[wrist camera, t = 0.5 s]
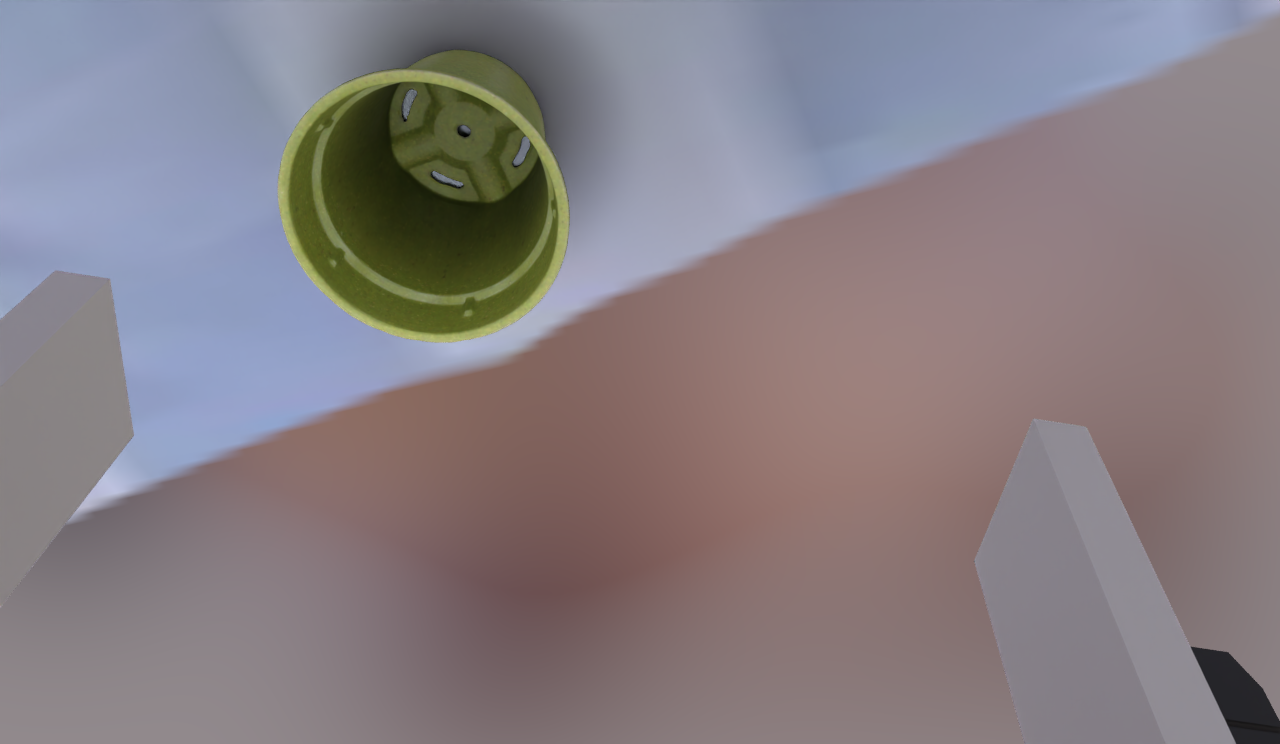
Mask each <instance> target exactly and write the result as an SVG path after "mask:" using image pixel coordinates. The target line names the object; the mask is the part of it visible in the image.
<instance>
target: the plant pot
mask: <svg viewBox="0 0 1280 744" xmlns="http://www.w3.org/2000/svg"><path fill="white" fill-rule="evenodd" d="M411 89H414V90H416V91H417V96H416V97H415V99H414V101H413V103H412V106H411V109H410V111H409V115H408V116H407V121H406V122H404V119H403V118H402V103H403V100H404V98H405V95H406V93H407V92H408V91H409V90H411ZM461 125H465V126H467V127H468V128H469V129H470V130H471V133H470V135H469V136H468V137H463V136H460V135H459V134H458V131H457V129H458V126H461ZM524 136H527V138H528V139H529V140H530V148H529V151H528V153H527V155H526V157H525V160H524V161H523V163H522V164H521V165H520V166H518V167H513V165H512V162H513V160H514V159H515V157H516V155H517V154H518V151H519V149H520V146H521V140H522V138H523V137H524ZM433 171H436V172H438V173H439V174H442V175H444V176H446V177H448V178H451V179H453V180H456V181H459V182H462V183H463V185H464V186H463V187H462V188H459V189H457V188H454V187H451V186H449V185H444V184H441V183H439V182H437V181H436V180H434V179H433V178H432V177H431V172H433ZM278 203H279V209H280V215H281V220H282V224H283V228H284V232H285V235H286V237H287V240H288V242H289V244H290V247H291V249H292V251H293V253H294V255H295V257H296V259H297V261H298V262H299V264H300V265H301V267H302V269H303V270H304V272H305V273H306V274H307V276H308V277H309V278H310V279H311V280H312V281H313V283H314V284H315V285H316V286H317V287H318V288H319V289H320V290H321V291H322V292H323V293H324V294H325V295H326V296H327V297H328V298H329V299H331V300H332V301H333V302H334V303H335V304H336V305H337V306H339V307H340V308H341V309H342V310H344V311H345V312H346V313H348V314H349V315H351V316H352V317H354V318H356V319H357V320H359V321H361V322H363V323H365V324H367V325H369V326H371V327H373V328H376V329H379V330H382V331H384V332H387V333H388V334H391V335H395V336H398V337H402V338H406V339H412V340H421V341H426V342H436V343H437V342H449V343H450V342H457V341H462V340H470V339H474V338H479V337H483V336H486V335H489V334H492V333H495V332H497V331H499V330H501V329H503V328H505V327H507V326H509V325H511V324H513V323H514V322H516V321H518V320H519V319H521V318H522V317H523V316H524V315H526V314H527V313H528V312H529V311H530V310H532V309H533V308H534V307H535V306H536V305H537V304H538V303H539V302H540V300H541V299H542V298H543V297H544V295H545V294H546V293H547V291H548V290H549V289H550V287H551V285H552V284H553V282H554V280H555V278H556V277H557V275H558V272H559V270H560V268H561V265H562V262H563V259H564V256H565V252H566V248H567V243H568V235H569V221H570V214H569V200H568V195H567V190H566V185H565V182H564V178H563V175H562V172H561V170H560V167H559V164H558V162H557V160H556V158H555V156H554V154H553V152H552V150H551V148H550V147H549V145H548V144H547V142H546V141H545V130H544V122H543V117H542V113H541V110H540V108H539V105H538V103H537V101H536V99H535V97H534V95H533V94H532V92H531V90H530V88H529V87H528V85H527V84H526V82H525V81H524V80H523V79H522V78H521V77H520V76H519V75H518V74H517V73H516V72H515V71H514V70H512V69H511V68H510V67H508V66H507V65H505V64H504V63H503V62H501V61H499V60H497V59H495V58H493V57H490V56H488V55H485V54H481V53H478V52H473V51H467V50H449V51H445V52H441V53H437V54H433V55H430V56H427V57H425V58H423V59H421V60H419V61H418V62H416V63H414V64H413V65H411V66H409V67H408V68H403V69H390V70H383V71H378V72H373V73H369V74H366V75H363V76H360V77H357V78H354V79H352V80H350V81H348V82H346V83H344V84H342V85H340V86H338V87H337V88H335V89H333V90H332V91H330V92H329V93H327V94H326V95H325V96H323V97H322V98H320V99H319V100H318V101H317V102H316V103H315V104H314V105H313V106H312V107H311V108H310V109H309V110H308V111H307V112H306V113H305V115H304V116H303V117H302V118H301V120H300V121H299V123H298V124H297V126H296V127H295V129H294V131H293V133H292V134H291V136H290V139H289V140H288V142H287V145H286V147H285V150H284V153H283V156H282V160H281V164H280V171H279V176H278Z"/></svg>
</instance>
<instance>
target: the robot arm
mask: <svg viewBox="0 0 1280 744" xmlns="http://www.w3.org/2000/svg"><path fill="white" fill-rule="evenodd" d="M133 436H134V433H133V426H132V420H131V413H130V407H129V400H128V393H127V387H126V380H125V374H124V367H123V361H122V354H121V348H120V341H119V334H118V328H117V321H116V315H115V308H114V302H113V295H112V288H111V282H110V279H108V278H102V277H95V276H88V275H82V274H75V273H69V272H62V271H54V272H53V273H52V274H51V275H50V276H49V277H47V278H46V279H45V280H44V281H43V282H42V283H41V284H40V285H39V286H37V287H36V288H35V289H34V290H33V291H32V292H31V293H30V294H28V295H27V296H26V297H25V298H24V299H23V300H22V301H21V302H20V303H18V304H17V305H16V306H15V307H14V308H13V309H12V310H11V311H9V312H8V313H7V314H6V315H5V316H4V317H3V318H2V319H1V320H0V607H1V606H2V605H3V604H4V603H5V601H6V600H7V599H8V597H9V596H10V595H11V594H12V592H13V591H14V590H15V588H16V587H17V586H18V584H19V583H20V582H21V581H22V579H23V578H24V577H25V575H26V574H27V573H28V572H29V570H30V569H31V568H32V566H33V565H34V564H35V563H36V561H37V560H38V559H39V557H40V556H41V555H42V553H43V552H44V551H45V550H46V548H47V547H48V546H49V545H50V543H51V542H52V541H53V539H54V538H55V537H56V535H57V534H58V533H59V531H60V530H61V529H62V528H63V526H64V525H65V524H66V523H67V521H68V520H69V519H70V517H71V516H72V515H73V514H74V512H75V511H76V510H77V508H78V507H79V506H80V504H81V503H82V502H83V501H84V499H85V498H86V497H87V495H88V494H89V493H90V492H91V490H92V489H93V488H94V486H95V485H96V484H97V483H98V481H99V480H100V479H101V477H102V476H103V475H104V474H105V472H106V471H107V470H108V468H109V467H110V466H111V464H112V463H113V462H114V461H115V459H116V458H117V457H118V455H119V454H120V453H121V452H122V450H123V449H124V448H125V446H126V445H127V444H128V443H129V441H130V440H131V439H132V437H133ZM974 562H975V565H976V569H977V573H978V576H979V580H980V583H981V587H982V591H983V594H984V598H985V602H986V605H987V609H988V612H989V616H990V620H991V623H992V627H993V630H994V634H995V638H996V641H997V645H998V649H999V652H1000V656H1001V659H1002V663H1003V667H1004V670H1005V674H1006V678H1007V681H1008V684H1009V689H1010V692H1011V696H1012V699H1013V703H1014V707H1015V710H1016V714H1017V717H1018V721H1019V725H1020V728H1021V732H1022V735H1023V739H1024V743H1025V744H1280V721H1279V719H1278V717H1277V715H1276V713H1275V711H1274V709H1273V708H1272V706H1271V704H1270V702H1269V700H1268V698H1267V696H1266V694H1265V692H1264V690H1263V689H1262V687H1261V686H1260V685H1259V684H1258V683H1257V682H1256V681H1255V680H1254V679H1253V678H1252V677H1251V676H1250V675H1249V674H1248V673H1247V672H1246V671H1245V670H1244V669H1243V668H1242V666H1240V664H1239V663H1238V662H1237V661H1236V660H1235V659H1234V658H1233V657H1232V656H1231V655H1230V654H1229V653H1228V652H1223V651H1216V650H1209V649H1202V648H1195V647H1190V645H1189V643H1188V641H1187V639H1186V637H1185V635H1184V632H1183V631H1182V628H1181V626H1180V624H1179V622H1178V620H1177V618H1176V615H1175V613H1174V611H1173V609H1172V607H1171V606H1170V603H1169V601H1168V599H1167V596H1166V594H1165V592H1164V590H1163V588H1162V586H1161V584H1160V582H1159V580H1158V577H1157V575H1156V573H1155V571H1154V569H1153V567H1152V565H1151V563H1150V560H1149V558H1148V556H1147V554H1146V552H1145V550H1144V548H1143V546H1142V544H1141V541H1140V539H1139V537H1138V535H1137V533H1136V531H1135V529H1134V527H1133V525H1132V522H1131V520H1130V518H1129V516H1128V514H1127V512H1126V510H1125V508H1124V505H1123V504H1122V501H1121V499H1120V497H1119V495H1118V493H1117V491H1116V489H1115V487H1114V484H1113V482H1112V480H1111V478H1110V476H1109V474H1108V472H1107V470H1106V467H1105V465H1104V463H1103V461H1102V459H1101V457H1100V455H1099V453H1098V451H1097V448H1096V446H1095V444H1094V442H1093V440H1092V438H1091V436H1090V434H1089V431H1088V429H1087V428H1086V427H1085V426H1078V425H1071V424H1065V423H1058V422H1052V421H1045V420H1038V419H1033V421H1032V423H1031V425H1030V428H1029V430H1028V433H1027V435H1026V437H1025V440H1024V442H1023V445H1022V447H1021V450H1020V452H1019V454H1018V457H1017V459H1016V462H1015V464H1014V466H1013V469H1012V471H1011V473H1010V476H1009V478H1008V481H1007V483H1006V486H1005V488H1004V490H1003V493H1002V495H1001V498H1000V500H999V503H998V505H997V507H996V510H995V512H994V514H993V517H992V519H991V522H990V524H989V527H988V529H987V532H986V534H985V536H984V539H983V541H982V543H981V546H980V549H979V551H978V553H977V555H976V558H975V560H974Z"/></svg>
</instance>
